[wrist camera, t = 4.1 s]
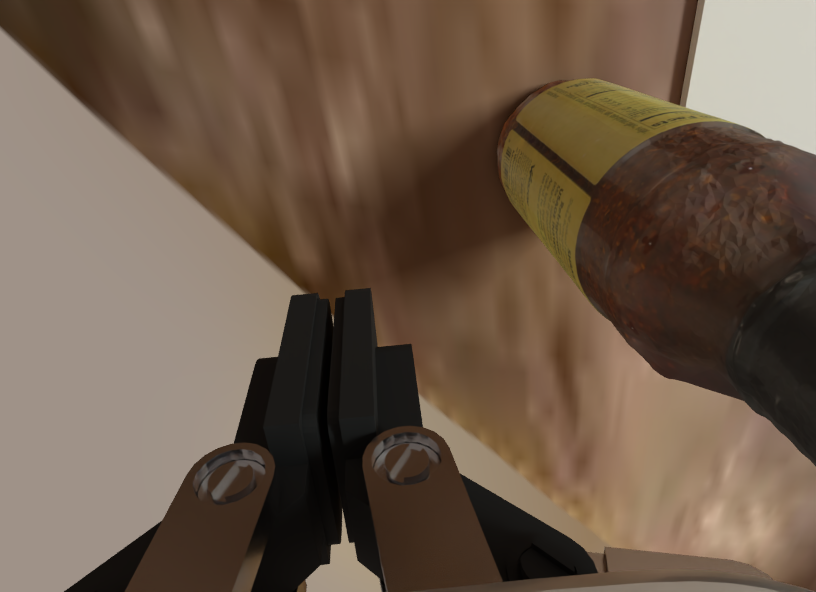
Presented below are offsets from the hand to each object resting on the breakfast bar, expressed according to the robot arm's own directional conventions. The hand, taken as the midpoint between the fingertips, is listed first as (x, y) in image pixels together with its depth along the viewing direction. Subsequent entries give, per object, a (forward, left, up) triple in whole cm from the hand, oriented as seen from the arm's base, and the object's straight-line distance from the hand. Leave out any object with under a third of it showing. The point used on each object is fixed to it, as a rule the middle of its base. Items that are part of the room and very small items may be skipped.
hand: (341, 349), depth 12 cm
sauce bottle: (0, -9, -14) cm, 17 cm away
